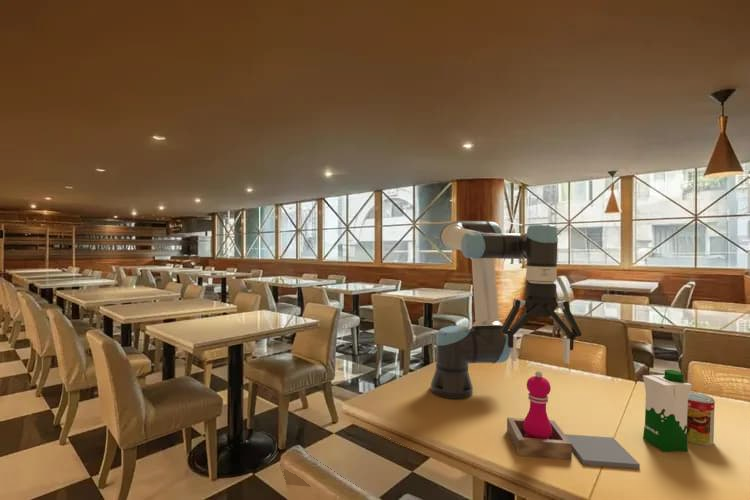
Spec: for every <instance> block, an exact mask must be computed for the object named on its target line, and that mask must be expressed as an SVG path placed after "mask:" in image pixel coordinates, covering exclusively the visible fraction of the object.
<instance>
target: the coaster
mask: <svg viewBox="0 0 750 500" xmlns="http://www.w3.org/2000/svg"><path fill="white" fill-rule="evenodd" d="M564 434H565V433H564ZM565 435H566V437H567V438H568V439H569V441H570V442H571V443H572V452H573V451H574V452H573V453H574V454H575V456H576V455H577V456H576V457H577V458H578V459H580V460H579V461H580V462H581V464H582V465H585V466H595V467H609V468H619V469H620V468H621V469H632V470H633V469H634V470H640V467H641V463H639V462H638V460H637V459H636V458H634V457H633V456H632V455H631V454H630V452H628V451H627V450H626V449H625V448H624V447H623V446H622V445H621V444H620V443H619V442H618V441H617V440H616V439H615V438H614V437H611V436H610V437H609V436H599V435H597V436H596V435H595V436H594V435H583V434H568V433H566V434H565Z"/></svg>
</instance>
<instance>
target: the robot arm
mask: <svg viewBox="0 0 750 500" xmlns="http://www.w3.org/2000/svg"><path fill="white" fill-rule="evenodd" d="M499 225H500V224H498V223H497V222H494V221H488V220H456V221H451V222H448V223H447V224H445V225H444V226H443V227H442V228H441V230H440V231H439V240H440V244H441V245H443V247H445V248H446V249H449V250H456V251H461V254H462V256H463V257H464V258H467V259H470V260H471V273H472V284H473V285H472V286H473V287H472V288H473V301H474V315H475V316H474V317H475V321H474V323H472V325H471V330H470V328H469V327H467V326H466V325H465V326H464V325H449V326H445V327H442V328H440V329H439V330H438V331H437V332H436V341H435V345H436V347H435V348H436V349H435V353H436V354H435V357H436V358H435V371H434V373H433V377H432V378H431V382H430V391H431V393H433V394H434V395H435V396H438V397H441V398H446V399H450V400H451V399H452V400H460V399H462V400H463V399H467V398H470V397H472V396H473V394H474V388H473V386H474V385H473V384H472V380H471V376H470V373H469V364H499V363H500V364H501V363H502V364H503V363H505V362H506V361H508V359H509V358H511V360H512V362H516V361H517V347H518V346H517V341H518V339H517V338H518V337H517V335H515V334H516V333H517V332H519V330H520V329H521V328H522V327H523V326H524V325H525V324H526V322H527V321H529V320H530V319H531V318H532V317H535V318H541V317H542V318H549V317H550V318H551V319H552V320H553V321H554V322H555V324H556V325H557V326H558V328H560V330H561V331H562V332H563V333H564V334H565V336H563V337H562V338H563V339H562V340H563V341H562V362H564V363H565V364H568V365H569V364H570V357H571V355H570V354H571V351H573V350H574V342H575V341H574V340H575V339H576V338H579V337H582V335H583V334H582V331H581V329H580V328H579V326H578V323H577V322H576V319H575V318H574V316H573V314H572V312H571V310H570V309H571V308H570V302H569V301H567V300H564V299H563V300H560V301H557V283H555V282H557V279H558V277H557V276H558V274H557V269H558V268H557V267H558V266H557V265H558V264H557V263H558V241H559V238H558V228H557V226H556V225H554V224H531V225H528V226H527V228H526V229H527V230H526V231H527V232H526V233H524V232H523V233H518V232H517V233H516V232H515V233H514V232H513V233H511V232H510V233H509V232H506V233H504V232H502V229H501V227H500V226H499ZM495 259H500V260H501V259H509V260H526V273H525V274H526V277H525V279H526V281H528V282H526V283H525V299H522V300H521V299H518V298H514V299H513V302H512V308H511V309H510V310H509V313H508V315H507V316H506V318H505V320H504V322H503V323H502V322H501V321H500V316H499V312H500V311H499V301H498V289H497V275H496V262H495V261H496V260H495ZM523 306H524V307H525V308H526V310H525V311H524V312H523V313H522V315H521V316H520V317H519V318H518V319H517V320H516V321H515V323H513V322H514V320H515V318H516V317H517V314H518V313H519V310H520V308H523ZM557 308H559V309H560V310H561V311H562V313H563V315H564V317H565V319H566V321H567V323H568V325H569V327H570V329H569V327H568V326H567V325H566V324H565V323H564V322H563V321H562V319H561V318H560V316H559V315H558V314H557V313H556V312H555V310H556V309H557ZM512 323H513V324H512Z"/></svg>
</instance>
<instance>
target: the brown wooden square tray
mask: <svg viewBox="0 0 750 500" xmlns="http://www.w3.org/2000/svg"><path fill="white" fill-rule="evenodd" d="M524 420H525V418H524V417H523V418H521V417H520V418H519V417H508V416H507V418H506V432H507V434H508V436H509V438H510V441H511V443H512V444H513V447H514V450H515V452H516V454H517V455H518V456H520V457H531V458H546V459H547V458H548V459H556V460H558V459H559V460H561V459H562V460H571V459H573V458H572V457H573V453H572V452H573V450H572V443H571V442H570V441H569V439H568V438H567V437H566V435H565V433H564V431H563V430H562V429H561V427H560V426H559V425H558V424H557V422H556V421H555V420H552V419H551V420H550V419H549V421H550V423H551V427H552V435H551V436H550V437H549V438H550V439H536V438H525V437H524V436H525V435H526V432H525V431H524V429H523V424H524ZM523 435H524V436H523Z"/></svg>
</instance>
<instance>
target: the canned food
mask: <svg viewBox="0 0 750 500" xmlns="http://www.w3.org/2000/svg"><path fill="white" fill-rule="evenodd" d="M715 403H716V400H715V399H714V398H713V397H711V396H709V395H707V394H705V393H704V394H703V393H700V392H694V391H690V394H689V397H688V408H687V443H691V444H694V445H698V446H706V447H707V446H708V447H709V446H713V445H714V436H715V434H714V433H715V431H714V430H715V408H716V407H715Z"/></svg>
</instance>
